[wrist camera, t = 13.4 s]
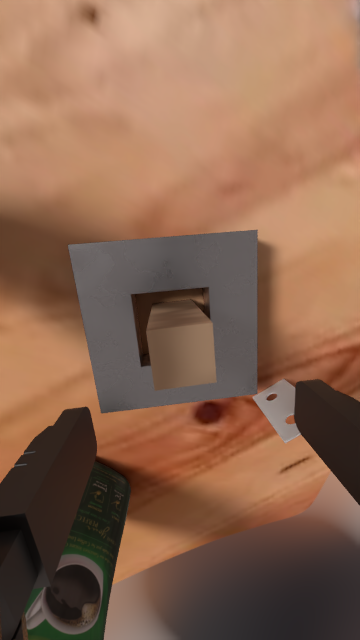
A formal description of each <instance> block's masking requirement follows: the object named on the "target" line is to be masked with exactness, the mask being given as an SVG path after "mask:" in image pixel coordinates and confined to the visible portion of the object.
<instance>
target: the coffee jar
mask: <svg viewBox="0 0 360 640" xmlns="http://www.w3.org/2000/svg"><path fill="white" fill-rule="evenodd" d="M130 493H131V488H130V485H129V482H128V481H127V479H126V478H125V477H123V476H122V475H121V474H119V473H118V472H116V471H114V470H113V469H111V468H109V467H107V466H105V465H103V464H101V463H99V462H96V461H95V462H94V465H93V468H92V471H91V473H90V476H89V479H88V482H87V485H86V488H85V490H84V493H83V496H82V499H81V502H80V505H79V508H78V510H77V513H76V516H75V519H74V522H73V525H72V527H71V530H70V533H69V536H68V539H67V542H66V545H65V547H64V550H63V553H62V556H61V559H60V562H59V565H58V567H57V570H56V573H55V576H54V579H53V582H52V584H51V586H49V587H43V588H37V589H33V590H32V592H31V595H30V597H29V599H28V602H27V604H26V607H25V609H24V613H25V617H26V625H27V633H28V640H104V632H105V624H106V617H107V610H108V604H109V598H110V593H111V587H112V582H113V577H114V572H115V567H116V562H117V557H118V552H119V548H120V543H121V538H122V534H123V530H124V525H125V521H126V516H127V511H128V506H129V500H130Z"/></svg>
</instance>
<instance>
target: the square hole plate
mask: <svg viewBox="0 0 360 640" xmlns="http://www.w3.org/2000/svg"><path fill="white" fill-rule="evenodd" d="M68 249H69V254H70V259H71V264H72V269H73V274H74V279H75V284H76V289H77V294H78V299H79V304H80V309H81V314H82V319H83V324H84V329H85V334H86V339H87V344H88V349H89V354H90V359H91V364H92V369H93V374H94V379H95V384H96V389H97V394H98V399H99V404H100V409H101V413H108V412H116V411H124V410H132V409H140V408H148V407H156V406H164V405H172V404H180V403H188V402H196V401H204V400H212V399H220V398H228V397H236V396H244V395H252V394H257V230H248V231H236V232H223V233H211V234H198V235H185V236H173V237H160V238H147V239H135V240H122V241H109V242H97V243H84V244H71V245H68ZM192 288H203V298H204V314H205V315H206V316H207V317H208V318H209V319H210V320H211V322H212V323H213V336H214V351H215V366H216V381H217V382H215V383H208V384H201V385H193V386H186V387H179V388H171V389H164V390H157V391H155V389H154V382H153V376H152V369H151V362H150V355H149V354H146V355H143V348H142V341H141V333H140V326H139V319H138V311H137V304H136V296H135V294H139V293H150V292H160V291H171V290H182V289H192Z"/></svg>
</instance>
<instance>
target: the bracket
mask: <svg viewBox="0 0 360 640" xmlns="http://www.w3.org/2000/svg"><path fill="white" fill-rule="evenodd" d="M271 394H277V397H276V398H275V399H274V400H271V401H268V400H267V397H268V396H269V395H271ZM252 398H253V399H254V400H255V402H256V403H257V405H258V406H259V407H260V409H261V410H262V412H263V413H264V414H265V416H266V417H267V419H268V420H269V421H270V423H271V424H272V426H273V427H274V428H275V430H276V431H277V433H278V434H279V436H280V437H281V438H282V440H283V441H284V443H287V442H289V441H290V440H292V439H294V438H295V437H297V436H299V435H301V433H300V432H299V430H298V428H297V426H296V423H295V424H287V423H286V422H285V420H286V418H287V417H288V416H290V415H294V407H295V387H293V386H292V385H291V384H290V383H288V382H287V381H286V380H285V379H282V380H280V381H279V382H277V383H275V384H274V385H272V386H270V387H269V388H267V389H265V390H264V391H262V392H260V393H259V394H257V395H255V396H254V397H252Z"/></svg>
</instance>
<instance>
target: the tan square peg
mask: <svg viewBox="0 0 360 640" xmlns="http://www.w3.org/2000/svg"><path fill="white" fill-rule="evenodd" d="M146 334H147V341H148V348H149V355H150V362H151V369H152V376H153V382H154V389H155V391H157V390H164V389H171V388H179V387H186V386H193V385H201V384H208V383H215V382H217V381H216V366H215V351H214V336H213V323H212V322H211V320H210V319H209V318H208V317H207V316H206V315H205V314H204V313H203V312H202V311H201V310H200V309H199V308H198V307H197V305H196V304H195V303H194V302H193V301H192V300H191V299H190V300H181V301H172V302H163V303H154V304H152V309H151V313H150V317H149V321H148V325H147V329H146Z"/></svg>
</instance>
